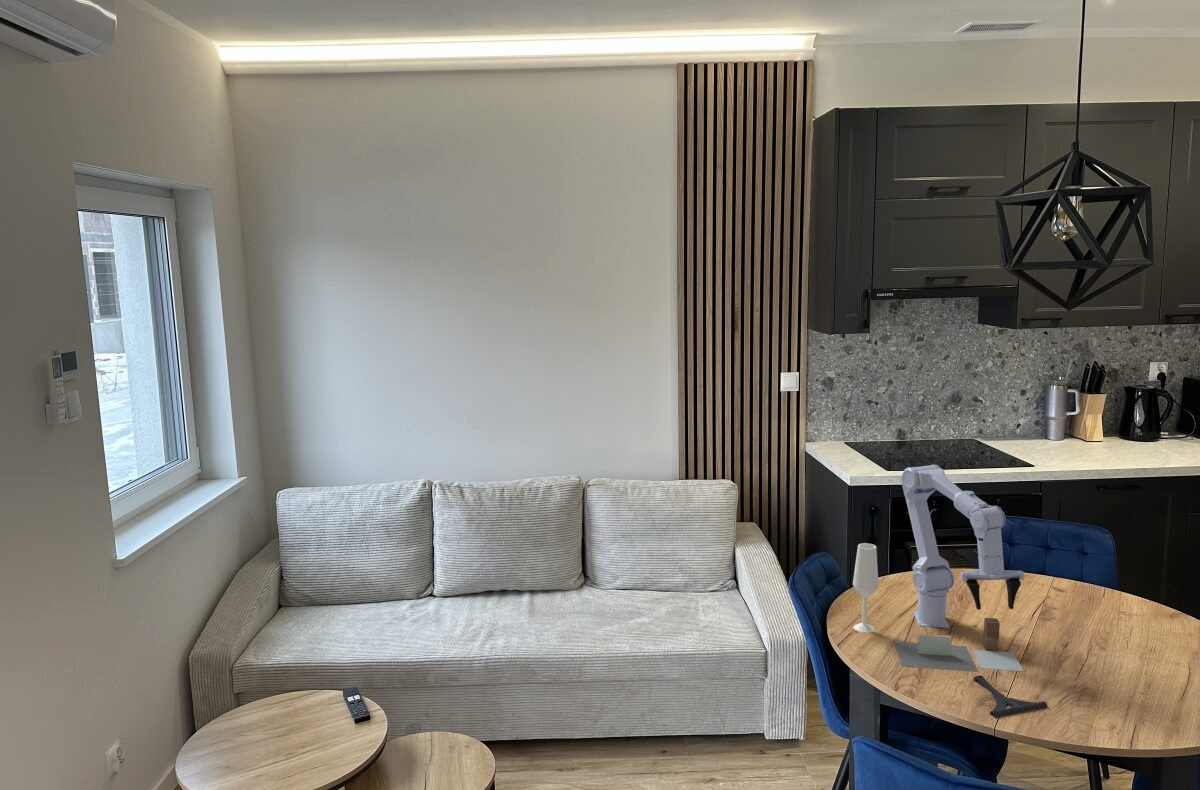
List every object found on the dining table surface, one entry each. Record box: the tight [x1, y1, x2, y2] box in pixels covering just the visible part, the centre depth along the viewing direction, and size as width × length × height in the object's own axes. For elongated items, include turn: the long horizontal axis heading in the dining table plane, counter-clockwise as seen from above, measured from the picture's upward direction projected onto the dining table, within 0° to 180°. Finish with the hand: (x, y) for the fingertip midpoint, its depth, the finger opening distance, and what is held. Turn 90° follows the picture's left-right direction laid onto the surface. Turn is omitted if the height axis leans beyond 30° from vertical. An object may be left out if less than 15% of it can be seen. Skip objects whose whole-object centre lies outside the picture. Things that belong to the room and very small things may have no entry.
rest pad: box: [971, 649, 1025, 672], centre depth 217 cm, size 10×10×1 cm
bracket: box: [973, 675, 1048, 718], centre depth 201 cm, size 14×15×3 cm
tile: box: [917, 633, 953, 656], centre depth 221 cm, size 1×8×5 cm, turn 79°
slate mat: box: [894, 640, 979, 673], centre depth 220 cm, size 14×18×1 cm
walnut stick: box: [982, 617, 1001, 652], centre depth 224 cm, size 3×3×8 cm
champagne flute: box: [852, 542, 879, 634], centre depth 235 cm, size 7×7×24 cm
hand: (994, 608), depth 218 cm, fingers open, 7 cm apart
